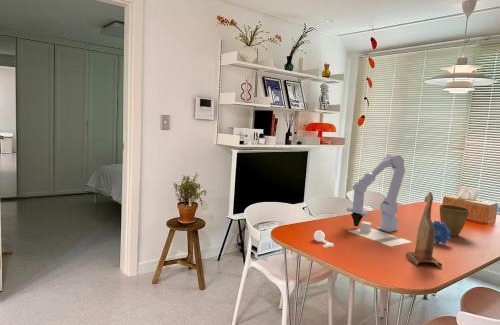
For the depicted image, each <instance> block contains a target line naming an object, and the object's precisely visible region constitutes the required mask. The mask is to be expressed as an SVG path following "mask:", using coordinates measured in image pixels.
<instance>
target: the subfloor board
mask: <svg viewBox="0 0 500 325" xmlns="http://www.w3.org/2000/svg"><path fill="white" fill-rule="evenodd" d="M348 232H350V233H352V234H356V235H357V236H361V237H362V238H366V239H369V240H371V241H374V242H377V243H380V244H383V245H385V246H388V247H395V246H401V245H405V244H410V243H412V241H411V240H408V239H405V238H401V237H400V236H399V237H398V236H396V235H393V234H391V233H388V232H385V231H384V232H383V231H382V230H379V229H374V228H372V227H371V232H370V233H365V232H360V228H357V229H348Z"/></svg>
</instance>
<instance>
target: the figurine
mask: <svg viewBox="0 0 500 325" xmlns="http://www.w3.org/2000/svg"><path fill="white" fill-rule="evenodd" d="M313 238H314V240H315V241H316V242H323V243H324V244H323V248H329V247H331V248H332V247H334V245H335V244H334V243H332V242H329V241H328V240H325V238H326V235H325V233H324V231H322V230H316V231H315V232H314V233H313Z"/></svg>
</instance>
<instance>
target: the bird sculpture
mask: <svg viewBox="0 0 500 325" xmlns="http://www.w3.org/2000/svg"><path fill="white" fill-rule="evenodd" d="M433 195H434V194H433V193H432V192H431V191H429V192H428V194H427V195H426V196H425V197H424V199H423V200H424V203H426V205H425V206H424V210H423V212H422V215H421V219H420V222H419V225H418V229H417V236H416V241H415V250H414V251H413V252H412V251H407V252H405V257H406V258H407V259H408V260H409V261H410V262H411V263H413V264H414V265H415V266H418V264H420V263H434V264H435V263H436V265H437V266H439V267H441V268H443V264H442V263H441V262H440V261H438V260H437V259H436V258H435V257H433V254H434V253H433V252H434V245H435V241H434V240H435V228H434V225H433V223H434V222H433V221H432V216H431V215H432V206H433V200H434V196H433ZM432 222H433V223H432Z"/></svg>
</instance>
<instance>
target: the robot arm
mask: <svg viewBox="0 0 500 325" xmlns="http://www.w3.org/2000/svg"><path fill="white" fill-rule="evenodd" d="M386 168H391V169H392V170H393V171H394V172H393V174H392V175H393V176H392V177H391V178H392V179H391V181H390V183H389V184H390V185H389V188H388V192H387V194H386V196H385V198H384V199H383V201H382V203H381V204H380V205H379V209H380V211H381V214H380V224H379V225H380V226H378V227H376V228H377V230H380V231H384V232H386V233H390V232H394V231H395V232H396V231H399V229H398V221H399V219H398V216H397V215H396V214H397V212H398V202H397V198H398V196H399V192H400V188H401V186H402V182H403V179H404V175H405V172H406V169H405V159H404V158H403V157H402V155H399V154H393V153H389V154H387V155H386V157H384V158H383V159H382V160H381V161H380V163H379V164H378V165H376V167H374V169H373V170H372V171H371V172H367V173H364V175H363V177H362V178H361V179H358V181H356V182H355V183H354V184H353V186H352V190H353V191H354V192H353V198H352V199H353V202H352V207H346V212H350V213H351V214H350V216H351V218H352V220H353V226H354V227H359V225H360V224H361V221H362V219H363V217H365V218H368V217H369V216H370V213H368V212H366V211H365V210H364V202H365V200H364V199H365V193H366V192H367V190H368V188H369V186H370V185H372V183H374V182H375V181H376V177H377V176H378V175H379V174H380V173H382V172H383V171H384V170H385V169H386Z"/></svg>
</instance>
